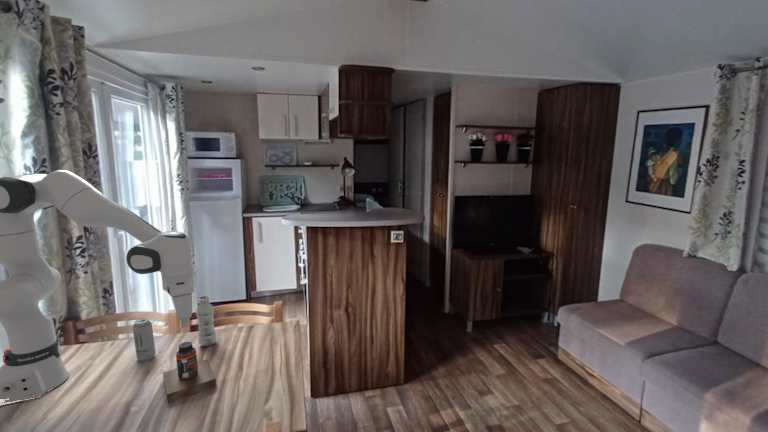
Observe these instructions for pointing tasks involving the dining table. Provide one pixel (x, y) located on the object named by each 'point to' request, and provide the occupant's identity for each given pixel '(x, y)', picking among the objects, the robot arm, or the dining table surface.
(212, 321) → the plastic bottle
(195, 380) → the beige flat square block
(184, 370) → the supplement bottle
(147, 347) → the energy drink can
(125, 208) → the robot arm
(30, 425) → the dining table surface
